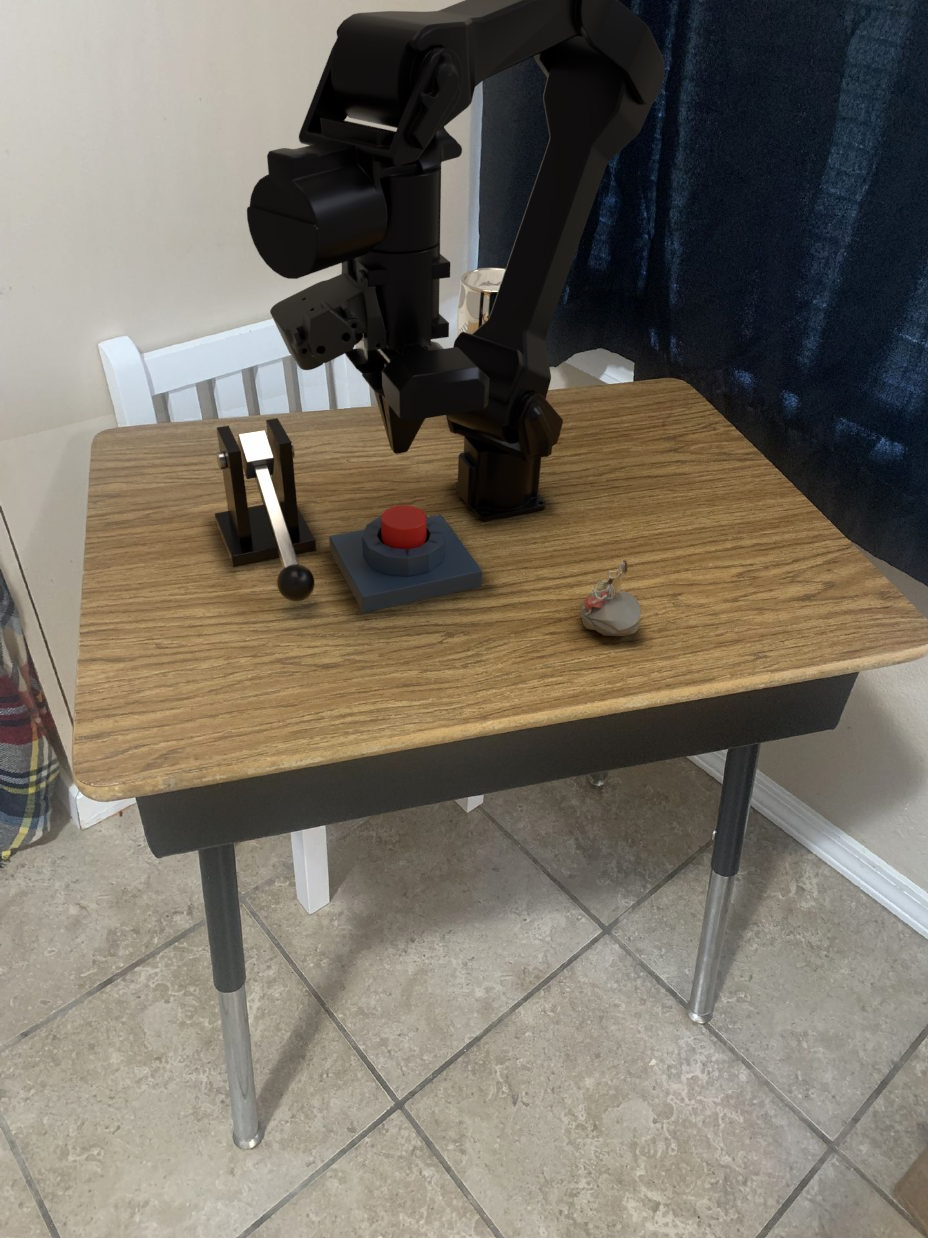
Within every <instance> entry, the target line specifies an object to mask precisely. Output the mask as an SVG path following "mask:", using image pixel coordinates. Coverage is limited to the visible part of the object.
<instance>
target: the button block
mask: <svg viewBox="0 0 928 1238" xmlns="http://www.w3.org/2000/svg"><path fill="white" fill-rule="evenodd" d="M426 517H427V527H426V541H425V543H424V544H423V545H421V546H420V547H416V548H411V549H396V548H391V547H389V546H387V545H385V544H384V543H383V541H382V539H381V515H380V516H378V517H376V518H374V519H373V520H372V521H370V522H368V523H367V524H366V525H365V528H364V529H359V530H353V531H349V532H343V533H338V534H333V535H329V536H328V543H329V553H330V555H331V557H332V558H333V561H334V562H335V564H336V566H337V568H338V570H339V571H340V573H341V575H342V577H343V579H344V580H345V583H346V584H347V586H348V588H349V590H350V592H351V593H352V595H353V597H354V599H355V601H356V603H357V605H358V607H359V609H360V611H361V612H362V613H363V614H367V613H370V612H375V611H380V610H384V609H388V608H389V609H390V608H393V607H398V606H402V605H406V604H410V603H415V602H420V601H425V600H428V599H432V598H433V599H434V598H437V597H443V596H446V595H451V594H456V593H459V592H464V591H469V590H473V589H474V590H475V589H478V588H481V587H482V584H483V582H482V581H483V570H482V569H481V567H480V566H479V564H478V562H477V561H476V560H475V558H473V556H472V555H471V553H470V552H469V551H468V549H467V548H466V547H465V545H464V543H463V542H462V541H461V539H459V537H458V536H457V534H456V533H455V532H454V530H453V529H452V527H451V526H450V525H449V523H448V522H447V521H446V519H445V518H444V516H443V515H442V514H435V515H431V516H426Z"/></svg>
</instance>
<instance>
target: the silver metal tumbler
mask: <svg viewBox="0 0 928 1238" xmlns="http://www.w3.org/2000/svg"><path fill="white" fill-rule="evenodd" d="M505 270H506V268H504V267H503V268H502V267H480V268H473V269H471V270H467V271H466V272H464V273H463V274H462V275H461V276H460V285H459V293H458V302H457V304H458V305H457V315H456V317H457V318H456V336H457V337H458V336H459V334H460V333H461V332H466V333H469V334H473V333H474V332H475V331H476V330H477V329H478V328H479V327H480V326H481V325H483V324H484V323H485V322H486V321H487V320H488V318H489V316H490V314H491V311H492V308H493V305H494V302H495V299H496V296H497V293H498V290H499V287H500V284H501V281H502V278H503V275H504V273H505Z"/></svg>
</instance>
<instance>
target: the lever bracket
mask: <svg viewBox="0 0 928 1238" xmlns="http://www.w3.org/2000/svg"><path fill="white" fill-rule="evenodd" d="M265 424H266V434H267V437H268V440H269V443H270V446H271V449H272V453H273V456H274V470H273V475H271V478H272V481H273V484H274V488H275V491H276V494H277V497H278V500H279V503H280V507H281V510H282V513H283V516H284V519H285V522H286V526H287V529H288V532H289V535H290V538H291V541H292V545H293V548H294V551H295V554H296V556H297V555H301V554H307V553H312V552H317V542H316V539H315V537H314V535H313V533H312V530H311V529H310V527H309V525H308V523H307V521H306V520H305V518H304V516H303V514H302V511H301V509H300V508H299V507H298V499H297V488H296V487H297V486H296V478H295V477H296V476H295V466H294V465H295V464H294V458H295V455H296V453H295V452H296V451H295V446H294V444H293V441H292V440H291V438H290V437H289V435H288V434H287V432H286V430H285V428H284V427H283V425H282V422H281V421H280V419H279V418H278V417H276V418H269V419H265ZM216 434H217V441H218V442H217V443H218V449H219V451H216V459H217V464H218V468H219V470H221V471H222V476H223V477H222V478H223V484H224V493H225V498H226V505H227V510H226V511H220V512H215V513H214V520H215V525H216V528H217V530H218V533H219V536H220V538H221V540H222V542H223V545H224V548H225V550H226V553H227V555H228V558H229V560H230V563H231V566H232V567H233V568H237V567H241V566H246V565H253V564H256V563H262V562H267V561H271V560H275V559H276V560H277V559H280V557H279V554H278V551H277V548H276V544H275V541H274V538H273V535H272V531H271V528H270V525H269V522H268V518H267V515H266V512H265V509H264V505H263V504H258V505H253V506H249V505H248V496H247V490H246V489H247V488H246V480H245V472H244V469H243V464H242V456H241V450H240V448H239V446H238V441H237V440H236V438H235V435H234V434H233V432H232V429H231V427H230V425H223V426H217V427H216Z"/></svg>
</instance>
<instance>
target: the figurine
mask: <svg viewBox="0 0 928 1238" xmlns="http://www.w3.org/2000/svg"><path fill="white" fill-rule="evenodd" d="M628 565H629V563H628V561H627V560H626V559H624V560H622V561H621V563H620V565H619V567H618V568H617V569H616V570H613V571H612V570H608V573H606V574H605V575H604V576H602V577H600V579H598V580H597V581H596V584H595V585H594V587H593V589H591V592H592V593H590V594H589V595H587V596H586V597H585V599H584V600H583V602H582V603H581V607H580V617H581V621H582V625H583V626H584V628H585V629H587V630H591V631H595V632H597V633H599V634H600V635H602V636H605V637H606V636H607V637H624V636H625V637H626V636H629V635H633V634H635V633H636V632H637V631H638V630H639V626H640V623H639V620H640V619H641V615H642V607H641V604H640V602H639V601H638V599H637V598H636V597H635V596H634V595H633V594H631V593H630V592H628V591H626V590H623V589H621V588H622V581H623V574H626V573H628ZM614 573H616V575H614V576H611V574H614ZM607 576H608V578H607V580H602V579H604V578H606V577H607ZM598 584H599V585H598Z"/></svg>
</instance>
